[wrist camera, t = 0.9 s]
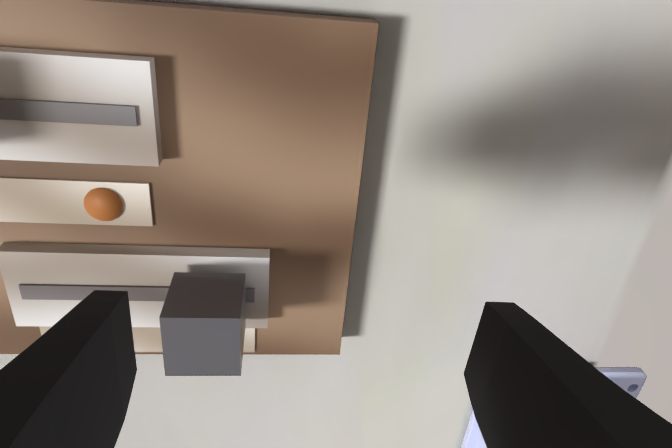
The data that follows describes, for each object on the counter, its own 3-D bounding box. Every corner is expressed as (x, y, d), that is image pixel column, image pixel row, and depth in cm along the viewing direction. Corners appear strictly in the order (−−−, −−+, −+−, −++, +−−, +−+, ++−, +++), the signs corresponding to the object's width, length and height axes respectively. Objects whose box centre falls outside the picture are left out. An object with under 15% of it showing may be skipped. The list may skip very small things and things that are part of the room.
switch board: (337, 338, 22) (341, 366, 21) (-118, 335, 20) (-150, 367, 19) (373, 18, 16) (382, 27, 14) (-284, -35, 14) (-353, -31, 12)
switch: (245, 326, 19) (240, 375, 17) (178, 326, 19) (165, 375, 16) (245, 273, 18) (240, 318, 16) (174, 272, 17) (159, 317, 15)
